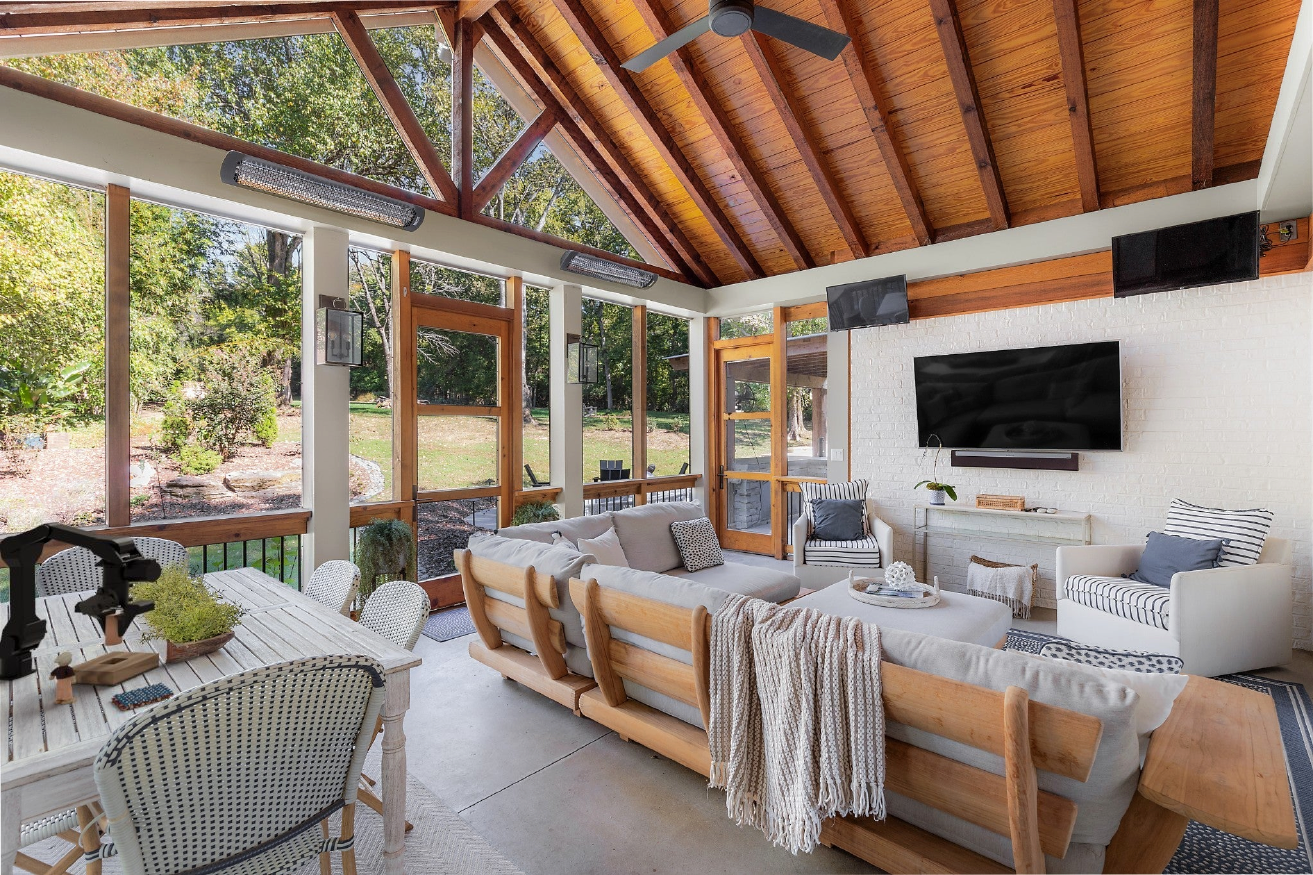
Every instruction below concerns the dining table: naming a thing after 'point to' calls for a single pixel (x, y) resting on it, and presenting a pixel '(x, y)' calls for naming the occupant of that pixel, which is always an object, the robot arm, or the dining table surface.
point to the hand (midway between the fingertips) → (114, 636)
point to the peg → (112, 631)
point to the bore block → (114, 668)
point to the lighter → (178, 654)
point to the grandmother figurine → (63, 678)
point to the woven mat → (141, 696)
